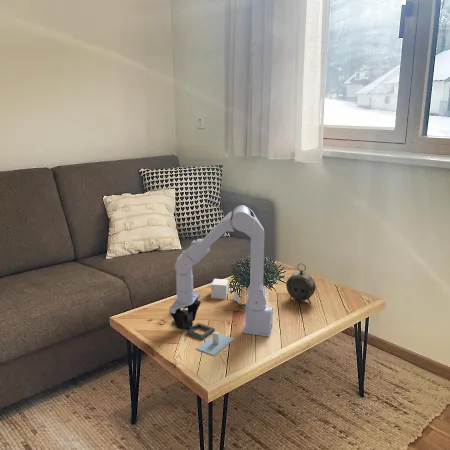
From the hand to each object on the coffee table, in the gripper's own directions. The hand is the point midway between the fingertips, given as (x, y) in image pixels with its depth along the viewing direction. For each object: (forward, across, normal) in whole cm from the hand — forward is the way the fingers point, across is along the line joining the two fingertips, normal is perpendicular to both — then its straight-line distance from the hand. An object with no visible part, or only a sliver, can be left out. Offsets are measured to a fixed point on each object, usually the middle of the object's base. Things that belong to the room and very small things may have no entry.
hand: (185, 323), depth 164 cm
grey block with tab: (+1, 0, +2) cm, 3 cm away
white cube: (+2, -29, -5) cm, 29 cm away
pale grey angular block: (+2, -31, +6) cm, 31 cm away
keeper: (+1, +3, +15) cm, 15 cm away
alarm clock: (+2, -42, +24) cm, 48 cm away
